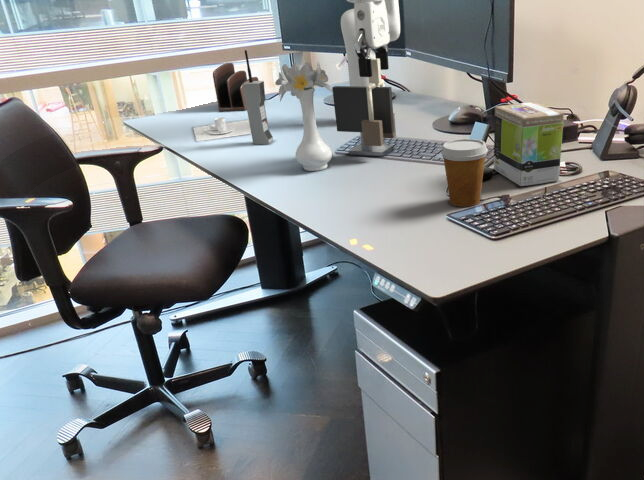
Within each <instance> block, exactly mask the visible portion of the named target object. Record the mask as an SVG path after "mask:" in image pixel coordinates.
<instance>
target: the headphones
mask: <svg viewBox="0 0 644 480" xmlns="http://www.w3.org/2000/svg"><path fill="white" fill-rule="evenodd" d="M371 65H372V77H369V83H372V84H370V85H368V86H367V87H366V89H367V101H368V112H369V120H363V121H361V123H362V134H363V145H364V146H382V145H385V142H384V139H394V138H396V137H397V132H396V118H395V112H393V119H394V133H392V134H388V133H383V128H382V120H374V115H373V103H372V91H371V90H372V89H374V88H376V87H378V86H380V87H386V86H385V80H384V79H382V70H381V67H380V59H371Z"/></svg>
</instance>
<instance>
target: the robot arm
mask: <svg viewBox="0 0 644 480" xmlns="http://www.w3.org/2000/svg"><path fill="white" fill-rule="evenodd" d="M346 2H348V3H352V4H353V8H351V9H347V10H346V11H344V12H343V14H341V17H340V28H341V33H342V37H343V41H344V48H345V52H346V60H347V70H348V79H349V80H348V81H349V86H362V87H367V86H368V85H370V84H372V83H369V77H372V65H371V59H380V67H381V71H387V70H389V69H390V67H389V53H388V51H389V47H388V45H389V43H390V42H395V41H396V40H398V39H399V38H400V35H401V16H400V6H399V5H400V4H399V0H346ZM373 49H374V50H375V51H374V50H373ZM378 87H380V86H378Z"/></svg>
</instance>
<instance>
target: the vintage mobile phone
mask: <svg viewBox="0 0 644 480" xmlns="http://www.w3.org/2000/svg"><path fill="white" fill-rule="evenodd" d="M244 56H245V62H246V68H247V75H248V76H247V77H248V79H249V81H248V82H246V83H244V84H243V90H244V96H245V101H246V107H247V109H246V112H247V118H248V120H249V124H250V129H251V134H250V135H251V140H252V144H253V145H270V144H271V143H273V142H274V137H273V135H272V133H271V132H270V129H269V124H268V117H267V112H266V106H265V102H266V91H265V81H264V80H259V81H253V80H252V77H253V76H252V75H253V74H252V71H251V67H250V61H249V56H248V50H247V49H245V50H244Z"/></svg>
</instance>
